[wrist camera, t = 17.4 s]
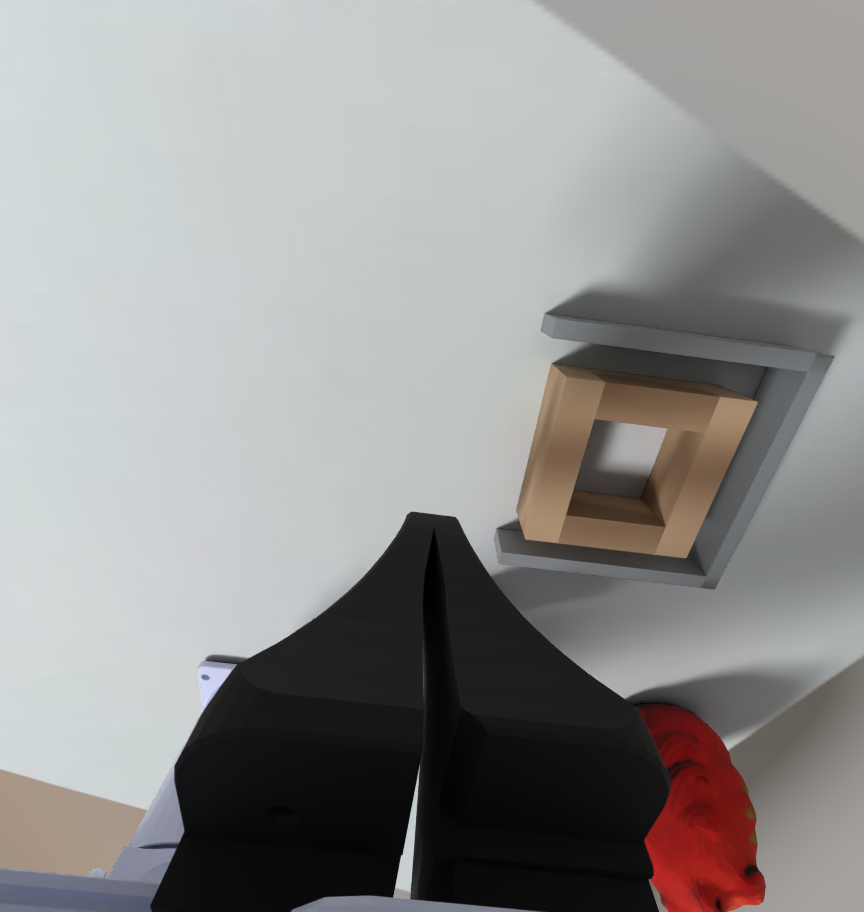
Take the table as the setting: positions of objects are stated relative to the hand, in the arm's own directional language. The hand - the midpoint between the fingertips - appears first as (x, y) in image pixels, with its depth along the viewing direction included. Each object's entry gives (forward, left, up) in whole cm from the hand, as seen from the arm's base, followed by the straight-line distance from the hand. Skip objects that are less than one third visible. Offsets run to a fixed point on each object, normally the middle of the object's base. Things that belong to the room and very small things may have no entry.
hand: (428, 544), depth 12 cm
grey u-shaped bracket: (0, -9, -9) cm, 13 cm away
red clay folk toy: (-19, -16, -9) cm, 27 cm away
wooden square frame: (0, -8, -9) cm, 12 cm away
